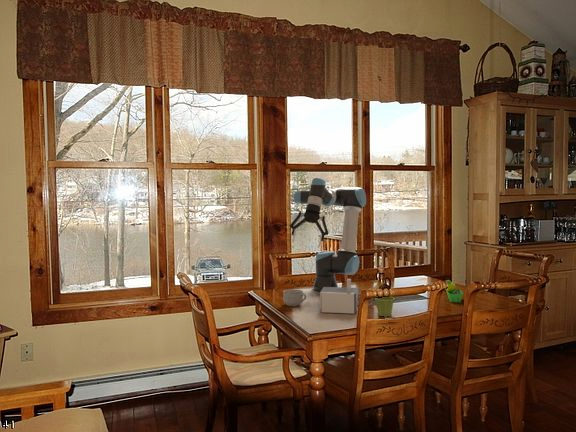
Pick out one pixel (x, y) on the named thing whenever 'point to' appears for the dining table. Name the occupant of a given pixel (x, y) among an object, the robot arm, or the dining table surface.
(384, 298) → the plant pot
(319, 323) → the dining table surface
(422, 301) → the dining table surface
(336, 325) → the dining table surface
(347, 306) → the door
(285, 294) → the teacup
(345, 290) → the box housing
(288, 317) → the dining table surface
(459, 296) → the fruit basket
